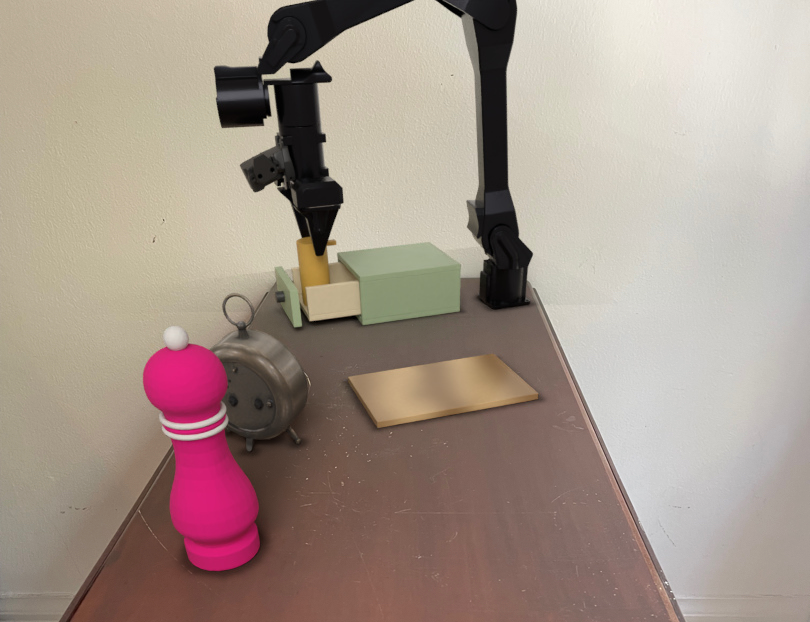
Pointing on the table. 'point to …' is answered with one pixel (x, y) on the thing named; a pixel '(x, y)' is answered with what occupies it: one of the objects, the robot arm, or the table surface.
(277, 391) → the alarm clock
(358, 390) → the board
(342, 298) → the drawer
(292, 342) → the table surface
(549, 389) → the table surface
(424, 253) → the cabinet
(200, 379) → the pepper mill
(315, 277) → the yellow cylinder
